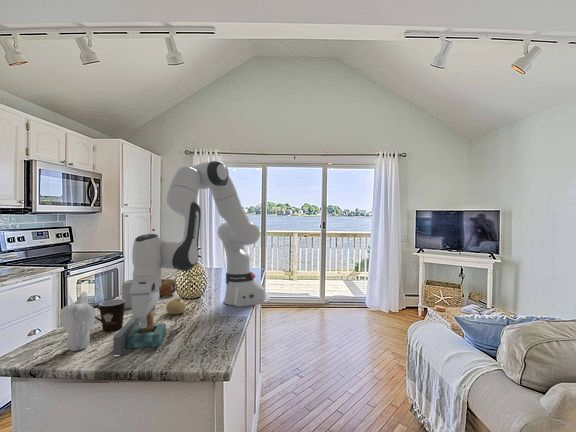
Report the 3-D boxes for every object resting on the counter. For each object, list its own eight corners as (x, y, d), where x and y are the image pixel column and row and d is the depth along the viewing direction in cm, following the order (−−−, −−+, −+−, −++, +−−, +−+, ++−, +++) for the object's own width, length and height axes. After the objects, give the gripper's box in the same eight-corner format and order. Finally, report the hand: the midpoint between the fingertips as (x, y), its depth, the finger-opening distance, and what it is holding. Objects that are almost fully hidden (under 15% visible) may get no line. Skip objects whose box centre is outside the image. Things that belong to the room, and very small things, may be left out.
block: (165, 334, 112) (165, 323, 112) (159, 346, 102) (159, 334, 102) (136, 336, 110) (136, 325, 110) (126, 348, 101) (126, 336, 100)
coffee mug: (130, 325, 120) (130, 300, 120) (111, 334, 112) (111, 307, 112) (108, 322, 124) (107, 297, 124) (87, 330, 116) (87, 303, 116)
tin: (148, 294, 164) (148, 278, 164) (152, 292, 167) (152, 277, 167) (174, 296, 161) (173, 280, 161) (177, 294, 164) (177, 278, 164)
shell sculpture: (71, 357, 95) (70, 298, 95) (58, 350, 99) (57, 294, 99) (99, 346, 102) (98, 292, 102) (86, 341, 106) (85, 289, 106)
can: (143, 304, 147) (143, 279, 147) (134, 309, 139) (133, 283, 139) (128, 304, 148) (128, 278, 147) (118, 309, 140) (118, 282, 140)
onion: (164, 317, 130) (164, 300, 130) (168, 311, 138) (167, 295, 138) (184, 315, 132) (184, 299, 131) (186, 309, 139) (186, 294, 139)
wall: (139, 330, 115) (139, 314, 115) (120, 356, 96) (120, 337, 95) (133, 331, 115) (133, 315, 115) (113, 356, 95) (113, 337, 95)
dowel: (154, 338, 109) (154, 310, 108) (152, 343, 105) (152, 314, 104) (142, 339, 108) (142, 310, 108) (139, 344, 104) (139, 314, 104)
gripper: (145, 275, 116) (146, 312, 116) (127, 290, 95) (128, 334, 96) (163, 275, 117) (164, 311, 117) (149, 289, 97) (150, 333, 97)
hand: (147, 322), depth 106 cm, fingers open, 8 cm apart
